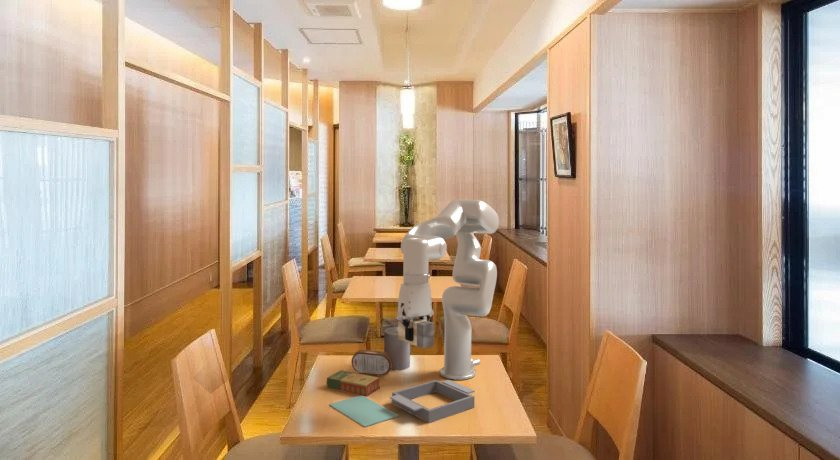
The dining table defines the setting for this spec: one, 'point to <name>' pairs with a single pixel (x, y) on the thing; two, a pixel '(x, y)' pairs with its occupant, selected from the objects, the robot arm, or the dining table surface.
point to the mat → (363, 410)
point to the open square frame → (430, 415)
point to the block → (418, 333)
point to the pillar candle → (396, 349)
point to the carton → (353, 383)
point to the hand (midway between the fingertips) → (415, 338)
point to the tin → (372, 362)
